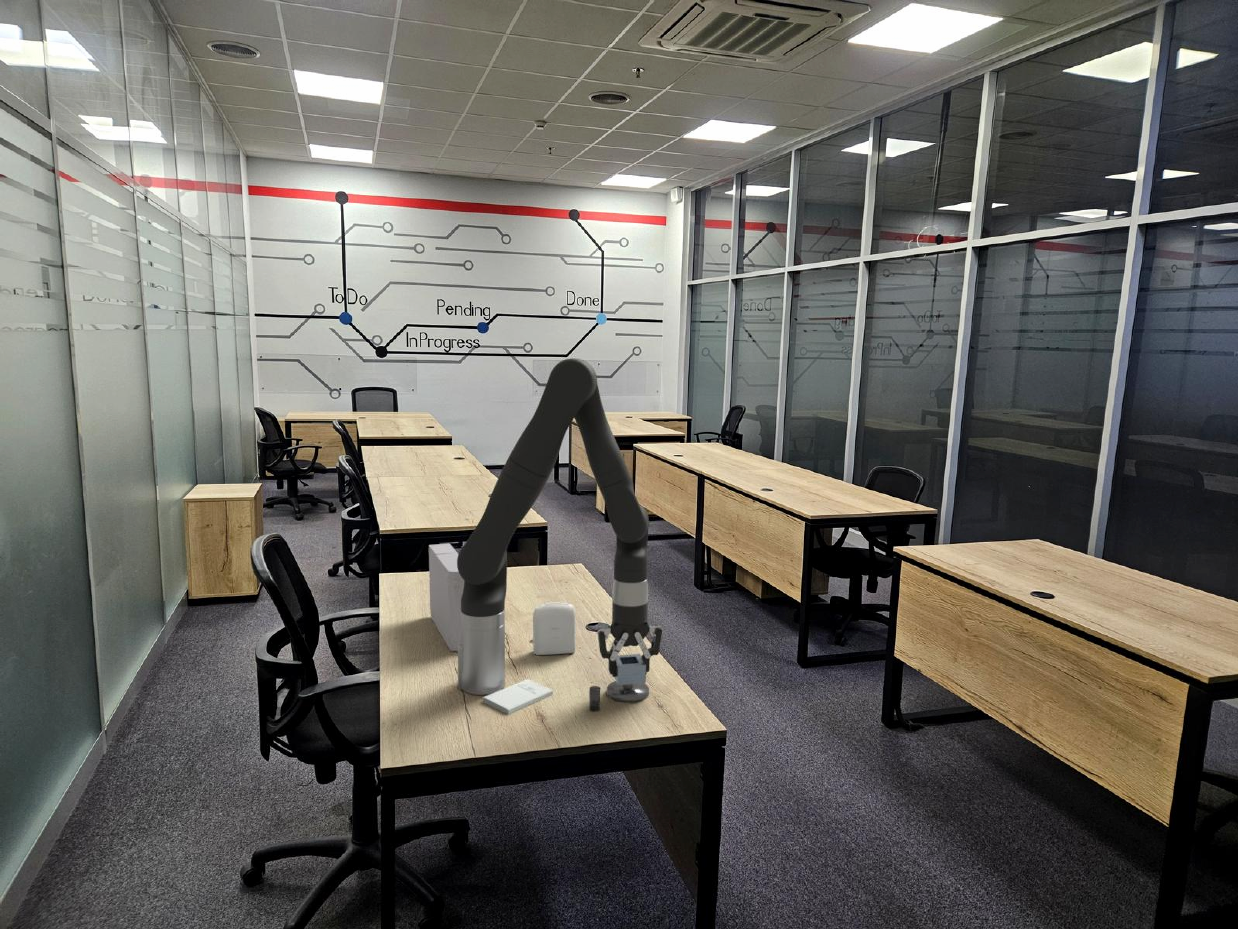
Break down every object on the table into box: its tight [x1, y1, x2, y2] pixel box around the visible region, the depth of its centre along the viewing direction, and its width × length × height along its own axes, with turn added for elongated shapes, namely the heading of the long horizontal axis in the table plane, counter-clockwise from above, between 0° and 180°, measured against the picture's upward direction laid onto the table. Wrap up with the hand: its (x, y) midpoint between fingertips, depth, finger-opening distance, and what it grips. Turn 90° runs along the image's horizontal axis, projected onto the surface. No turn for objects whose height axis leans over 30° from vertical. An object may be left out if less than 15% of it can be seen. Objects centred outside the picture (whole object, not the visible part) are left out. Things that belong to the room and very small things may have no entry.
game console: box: [428, 542, 464, 652], centre depth 195 cm, size 6×27×20 cm, turn 24°
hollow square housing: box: [613, 653, 647, 685], centre depth 163 cm, size 6×6×4 cm
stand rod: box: [588, 685, 601, 713], centre depth 155 cm, size 2×2×4 cm
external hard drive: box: [482, 678, 554, 715], centre depth 160 cm, size 2×8×12 cm
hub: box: [606, 680, 650, 703], centre depth 163 cm, size 9×9×4 cm
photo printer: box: [532, 601, 576, 656], centre depth 184 cm, size 10×4×12 cm, turn 100°
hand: (629, 674), depth 163 cm, fingers closed on hollow square housing, 6 cm apart
